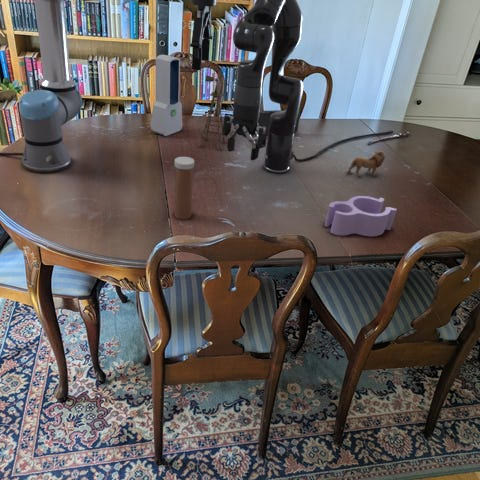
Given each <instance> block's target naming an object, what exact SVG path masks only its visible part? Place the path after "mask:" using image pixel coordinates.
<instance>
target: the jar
mask: <svg viewBox="0 0 480 480" xmlns="http://www.w3.org/2000/svg"><path fill="white" fill-rule="evenodd" d="M193 176H194V167H193V168H192V169H187V170H184V169H179V168H177V167H175V178H174V179H175V183H174V184H175V187H174V188H175V189H174V217H175V218H176V219H179V220H188V219H190V218H191V217H192V203H193V181H194V180H193V179H194V178H193Z"/></svg>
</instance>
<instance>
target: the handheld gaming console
mask: <svg viewBox="0 0 480 480" xmlns="http://www.w3.org/2000/svg"><path fill="white" fill-rule="evenodd" d="M285 110H286V109H284V110H283V109H282V110H260V114H259V119H258V126H261V127H264V126H266V127H267V136H268V131H269V123H270V116H271V114H273V113H275V112H280V111H285ZM300 118H301V113H300V112H299V111H298V116H297V120H296V125H295V131H294V134H296V133H297V132H298V131H299V122H300ZM256 132H258V131H256ZM257 135H258V134H257Z"/></svg>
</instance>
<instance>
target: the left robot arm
mask: <svg viewBox="0 0 480 480" xmlns="http://www.w3.org/2000/svg"><path fill="white" fill-rule="evenodd" d="M190 3H191V4H192V5H193V6H197V9H195V10H194V15H193V16H194V17H193V18H194V19H193V26H192V36H191V41H190V42H191V43H189V47H190V48H192V52H191V53H192V56H191V70H194V71H202V61H204V62H210V52H211V51H210V50H211V49H210V48H211V41H212V40H213V38H214V36H213V33H212V7H215V6H216V5H217V0H190ZM34 9H35V17H36V25H37V35H38V41H39V50H40V51H39V52H40V58H41V67H42V78H41V80H39V82H38V85H39V89H37V90H36V89H35V90H33V91H28V92H25V93H24V94H22V95H21V96H20V98H19V100H18V105H19V106H18V111H19V114H20V119H21V126H22V132H23V136H24V148H23V152H0V156H8V157H9V156H11V157H12V156H16V157H17V156H22V158H21V159H22V160H21V161H22V166H23V168H24V169H25V170H27V171H29V172H33V173H39V174H46V173H56V172H61V171H63V170H66V169H67V168H69V167H70V166H71V163H72V159H71V155H70V153H69V151H68V150H67V149H68V148H67V147H66V145H65V143H64V140H63V132H62V126H64V125H65V124H67V123H68V122H70V121H71V120H73V119H74V118H76V117H77V116H78V114H79V113H80V112H81V110H82V107H83V98H82V93H81V92H80V91H79V90H78V88H77V84H76V81H75V80H74V79H72V77H71V69H70V67H71V66H70V55H69V44H68V43H69V42H68V33H67V22H66V20H67V19H66V10H65V0H34Z"/></svg>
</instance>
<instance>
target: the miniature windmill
mask: <svg viewBox="0 0 480 480" xmlns="http://www.w3.org/2000/svg"><path fill="white" fill-rule="evenodd" d="M219 72H220V73H219V75H217V78H214V77H213V76H210V75H205V83H207V82H208V83H212V82H215V88H214V91H211V93H210V94H209V96H211V97H212V99H211V101H210V103H211V104H210V106H209V110H208V113H207V118H206V122H205V124H204V129H203V131H202V132H203V133H202V136H201V141H200V145H199V147H202V146H203V143H204V139H205V140H206V141H208V140H213V141H218V150H222V149H221V141H222V143H223V144H225V143H226V140H225V139H226V138H225V136H224V135H223V134H222V131H223V123H224V121H223V115H222V107H221V100H220V98H221V97H223V96H224V95H225V93H223V92H221V89H222V86H223V84H222V83H223V77H224V75H223V70H222V67H220V69H219ZM214 104H216V109H213V108H214ZM214 112H217V113H214ZM212 115H216V116H217V120H215V119H212ZM211 122H216V123H217V125H216V124H211ZM210 127H216V128H217V132H216V131H211V130H209V129H210ZM220 128H221V131H220ZM209 133H211V134H217V138H213V137H208V136H209Z"/></svg>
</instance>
